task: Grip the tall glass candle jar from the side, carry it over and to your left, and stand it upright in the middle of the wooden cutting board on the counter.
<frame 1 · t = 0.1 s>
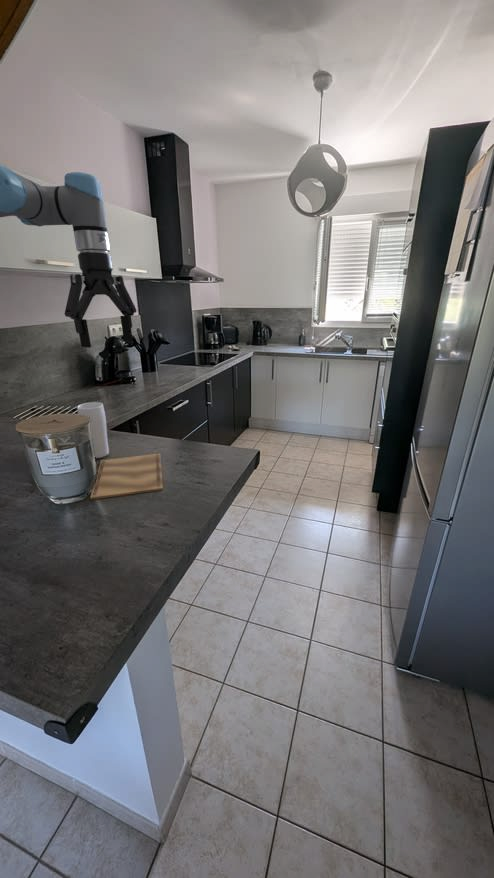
hand: (108, 343, 93), 31 cm above the counter, tool pointing down, fingers open, 13 cm apart
drinking glass: (99, 455, 103), on the counter
wooden cutting board: (129, 475, 91), on the counter
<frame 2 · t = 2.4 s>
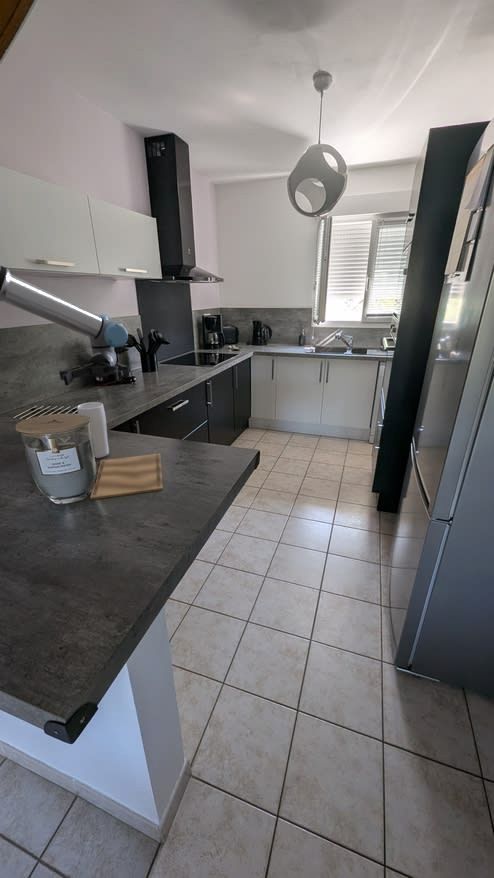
hand: (91, 378, 103), 20 cm above the counter, tool horizontal, fingers open, 13 cm apart
nothing on the counter moved.
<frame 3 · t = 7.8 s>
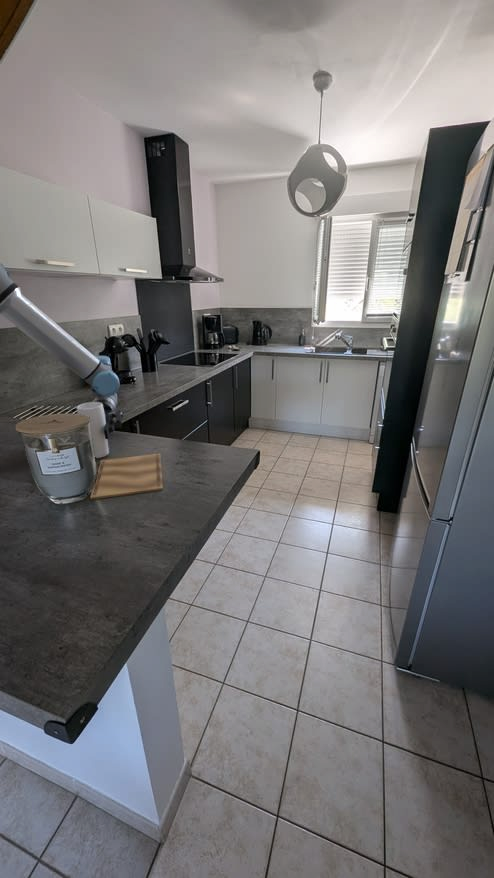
hand: (92, 435, 95), 8 cm above the counter, tool horizontal, fingers closed on drinking glass, 6 cm apart
drinking glass: (99, 455, 103), on the counter, touching gripper
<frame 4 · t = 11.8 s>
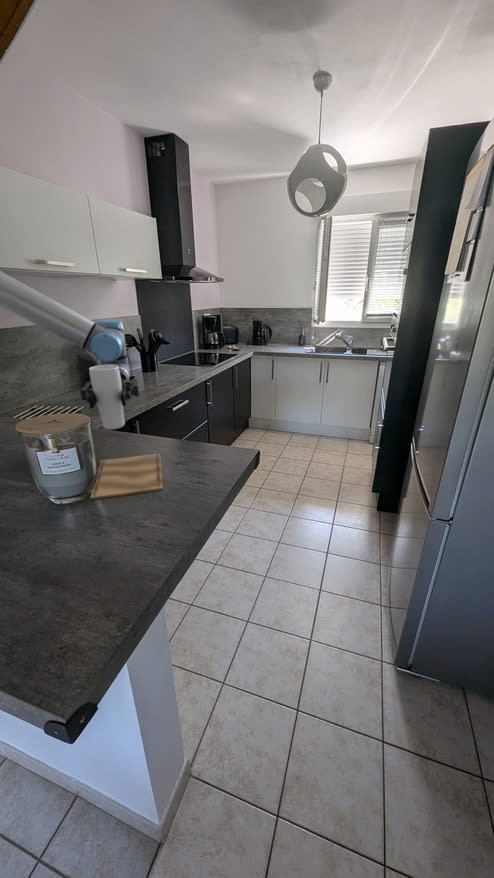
hand: (107, 401, 82), 20 cm above the counter, tool horizontal, fingers closed on drinking glass, 6 cm apart
drinking glass: (114, 427, 90), point 12 cm above the counter, touching gripper
when the fingers open (9 cm above the counter, at t = 15.8 s): drinking glass stays where it is, resting on wooden cutting board.
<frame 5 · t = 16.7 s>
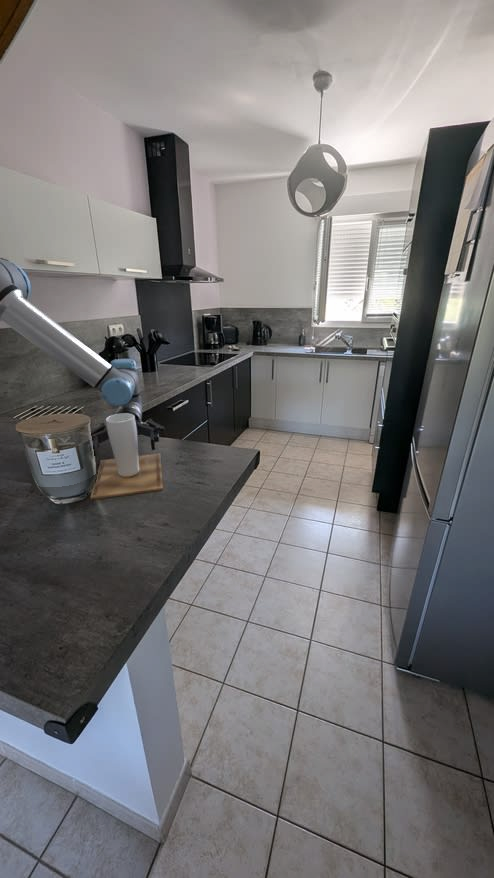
hand: (123, 448, 85), 9 cm above the counter, tool horizontal, fingers open, 13 cm apart
drinking glass: (129, 473, 91), resting on wooden cutting board
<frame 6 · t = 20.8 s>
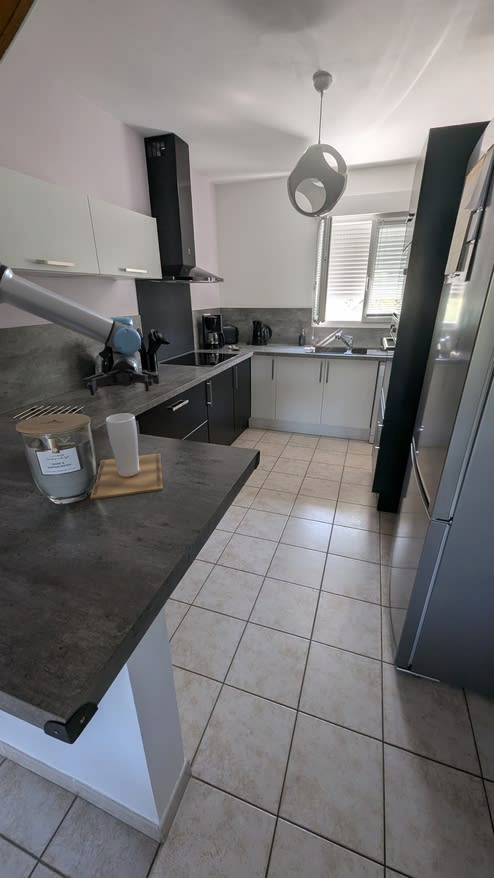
hand: (119, 388, 92), 20 cm above the counter, tool horizontal, fingers open, 13 cm apart
nothing on the counter moved.
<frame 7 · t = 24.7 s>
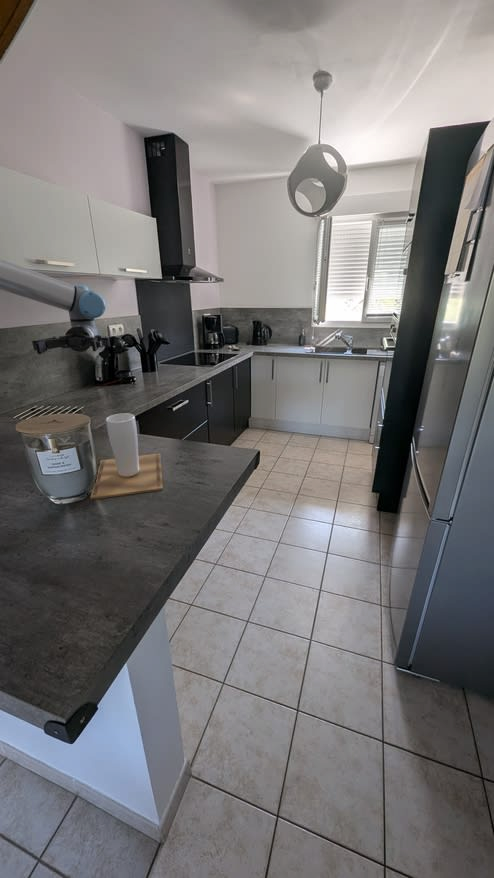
hand: (66, 347, 94), 30 cm above the counter, tool horizontal, fingers open, 13 cm apart
nothing on the counter moved.
at the end: drinking glass inside the target area on the wooden cutting board (0.0 cm from its centre), point 0.4 cm above the wooden cutting board's base; drinking glass tilted 0°; the gripper is holding nothing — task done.
